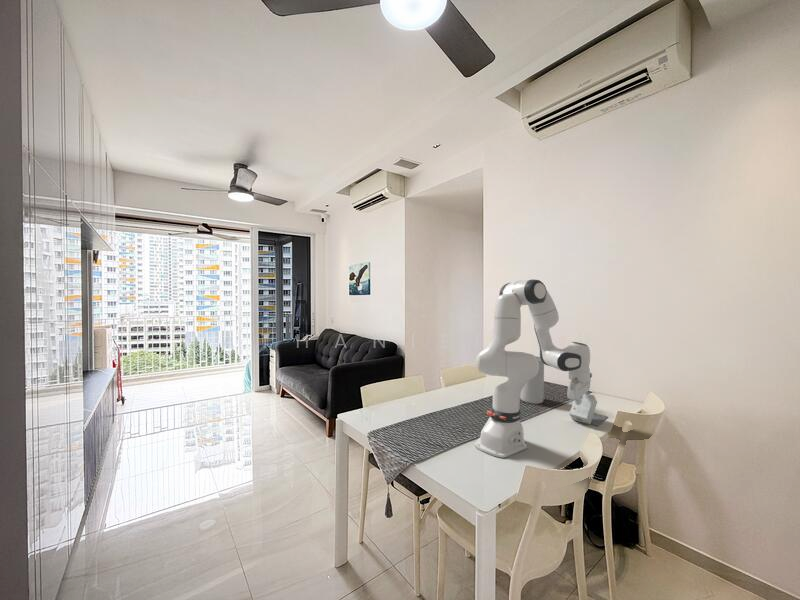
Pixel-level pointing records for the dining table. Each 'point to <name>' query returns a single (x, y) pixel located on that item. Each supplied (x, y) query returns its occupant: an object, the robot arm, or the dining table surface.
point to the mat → (597, 419)
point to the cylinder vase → (534, 387)
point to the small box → (584, 409)
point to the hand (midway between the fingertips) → (578, 404)
